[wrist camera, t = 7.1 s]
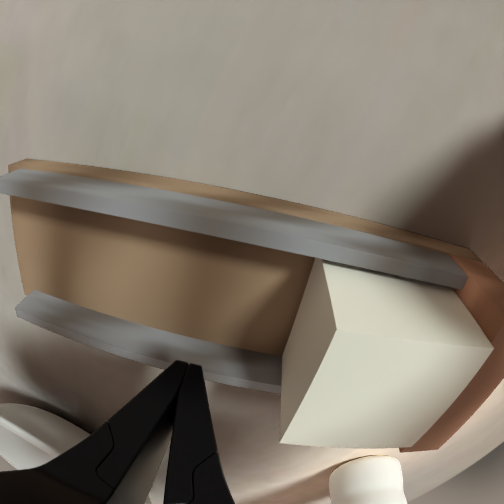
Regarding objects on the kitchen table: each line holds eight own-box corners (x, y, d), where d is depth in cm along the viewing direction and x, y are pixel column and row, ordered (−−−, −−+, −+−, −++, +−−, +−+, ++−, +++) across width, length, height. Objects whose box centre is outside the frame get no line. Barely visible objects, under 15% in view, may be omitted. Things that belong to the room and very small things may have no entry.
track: (469, 249, 13) (539, 324, 8) (409, 363, 17) (437, 449, 11) (26, 158, 13) (-64, 196, 7) (37, 282, 17) (-23, 343, 11)
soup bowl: (223, 472, 25) (214, 528, 19) (122, 491, 34) (111, 524, 28) (8, 322, 19) (-37, 373, 13) (-11, 398, 28) (-32, 429, 22)
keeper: (441, 275, 12) (494, 348, 8) (389, 370, 15) (411, 447, 10) (318, 246, 12) (337, 329, 8) (282, 356, 15) (279, 442, 10)
